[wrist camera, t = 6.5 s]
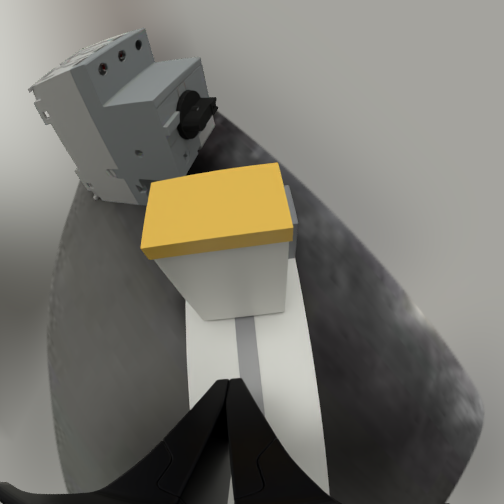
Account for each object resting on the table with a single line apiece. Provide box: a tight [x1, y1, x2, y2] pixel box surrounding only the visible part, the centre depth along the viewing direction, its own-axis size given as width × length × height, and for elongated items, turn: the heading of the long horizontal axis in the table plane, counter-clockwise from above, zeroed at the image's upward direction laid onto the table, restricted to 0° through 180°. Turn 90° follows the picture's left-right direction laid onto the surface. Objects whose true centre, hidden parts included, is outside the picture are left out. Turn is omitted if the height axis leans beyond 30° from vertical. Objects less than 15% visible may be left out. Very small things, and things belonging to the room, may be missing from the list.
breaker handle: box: [141, 163, 293, 321], centre depth 14 cm, size 3×5×9 cm, turn 96°
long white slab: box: [186, 185, 330, 504], centre depth 13 cm, size 24×8×6 cm, turn 6°
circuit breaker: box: [28, 28, 218, 206], centre depth 20 cm, size 8×14×15 cm, turn 76°
